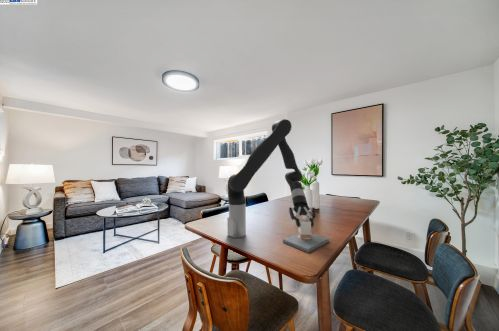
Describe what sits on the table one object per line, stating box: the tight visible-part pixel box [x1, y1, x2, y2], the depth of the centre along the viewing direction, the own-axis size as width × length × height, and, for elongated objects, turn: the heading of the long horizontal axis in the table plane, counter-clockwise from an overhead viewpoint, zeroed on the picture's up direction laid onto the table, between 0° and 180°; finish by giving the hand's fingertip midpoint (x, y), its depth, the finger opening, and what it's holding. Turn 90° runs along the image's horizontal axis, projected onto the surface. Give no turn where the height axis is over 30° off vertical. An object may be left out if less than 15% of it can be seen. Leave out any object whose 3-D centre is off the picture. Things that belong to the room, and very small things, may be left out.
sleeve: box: [297, 218, 312, 238], centre depth 92 cm, size 5×5×8 cm
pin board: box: [282, 232, 330, 253], centre depth 89 cm, size 18×14×5 cm
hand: (305, 226), depth 90 cm, fingers open, 6 cm apart
